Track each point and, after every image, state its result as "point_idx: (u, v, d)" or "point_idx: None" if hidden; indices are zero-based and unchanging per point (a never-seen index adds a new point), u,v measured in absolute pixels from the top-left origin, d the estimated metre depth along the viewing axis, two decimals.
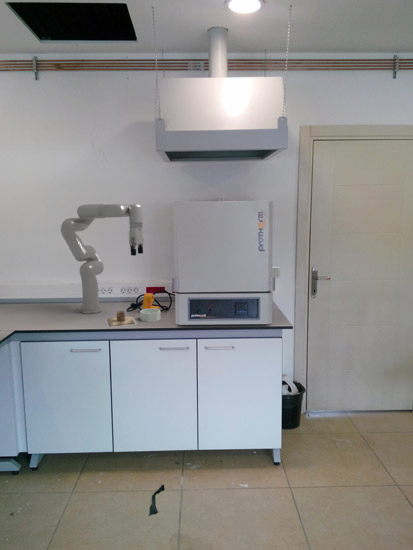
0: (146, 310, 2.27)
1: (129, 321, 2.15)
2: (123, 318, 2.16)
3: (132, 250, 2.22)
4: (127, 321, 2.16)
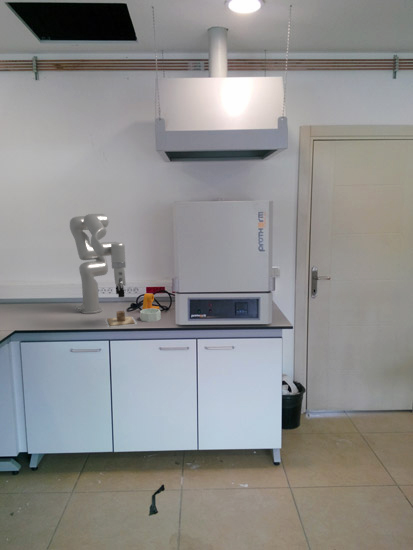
0: (146, 310, 2.27)
1: (129, 321, 2.15)
2: (123, 318, 2.16)
3: None
4: (127, 321, 2.16)
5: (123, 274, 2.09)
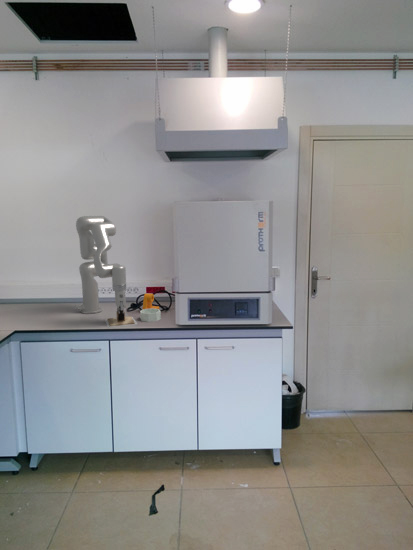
0: (146, 310, 2.27)
1: (129, 321, 2.15)
2: None
3: None
4: (127, 321, 2.16)
5: (124, 297, 2.11)
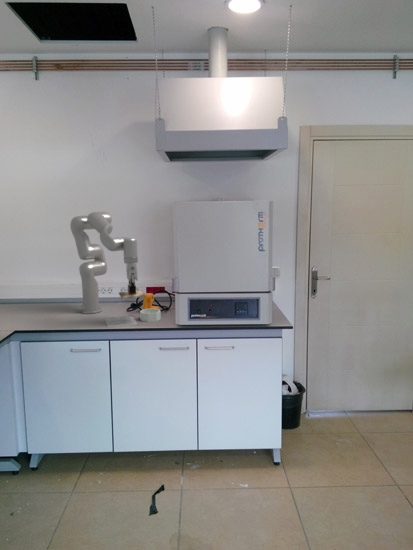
0: (146, 310, 2.27)
1: (141, 294, 2.15)
2: None
3: None
4: (138, 294, 2.15)
5: (135, 269, 2.11)
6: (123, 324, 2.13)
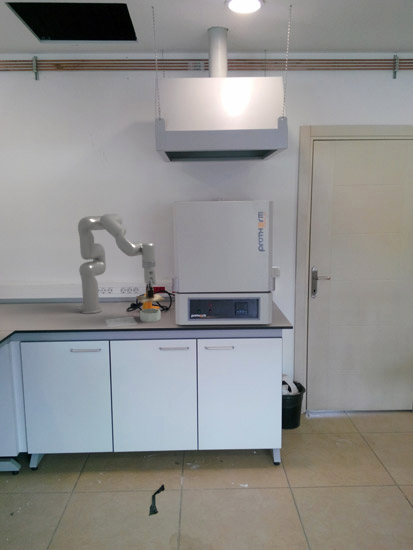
0: (146, 310, 2.27)
1: (159, 298, 2.19)
2: None
3: None
4: (156, 298, 2.20)
5: (153, 273, 2.15)
6: (123, 324, 2.13)
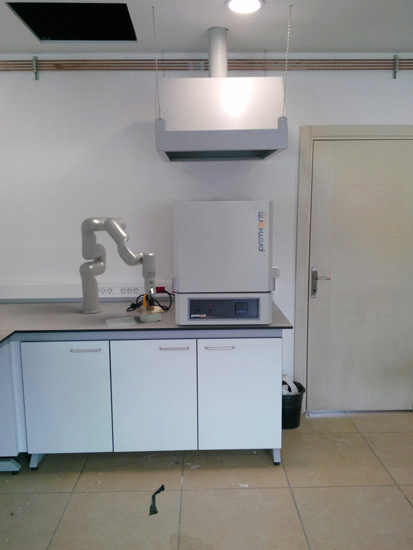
0: None
1: (159, 310, 2.20)
2: (152, 307, 2.21)
3: None
4: (156, 310, 2.21)
5: (154, 283, 2.16)
6: (123, 324, 2.13)
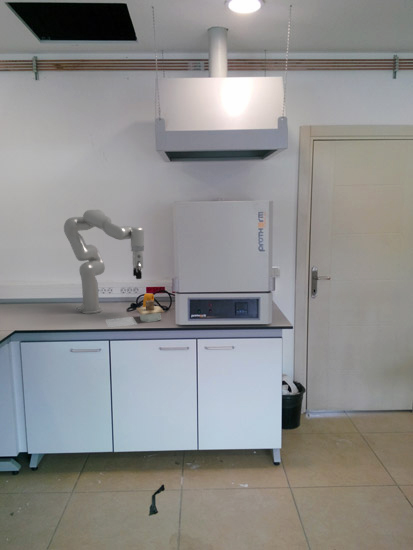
0: None
1: (159, 310, 2.20)
2: (152, 307, 2.21)
3: None
4: (156, 310, 2.21)
5: (141, 257, 2.21)
6: (123, 324, 2.13)
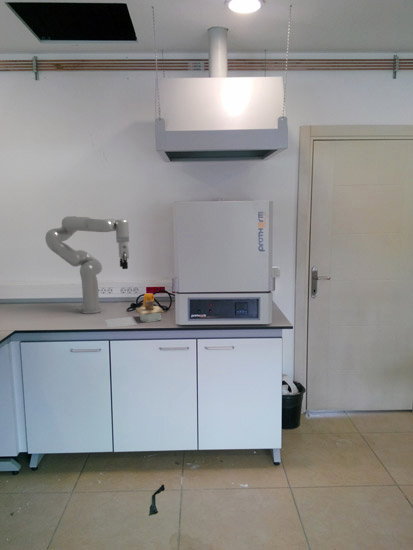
0: None
1: (158, 310, 2.20)
2: (152, 307, 2.21)
3: None
4: (156, 310, 2.21)
5: (127, 248, 2.30)
6: (123, 324, 2.13)
